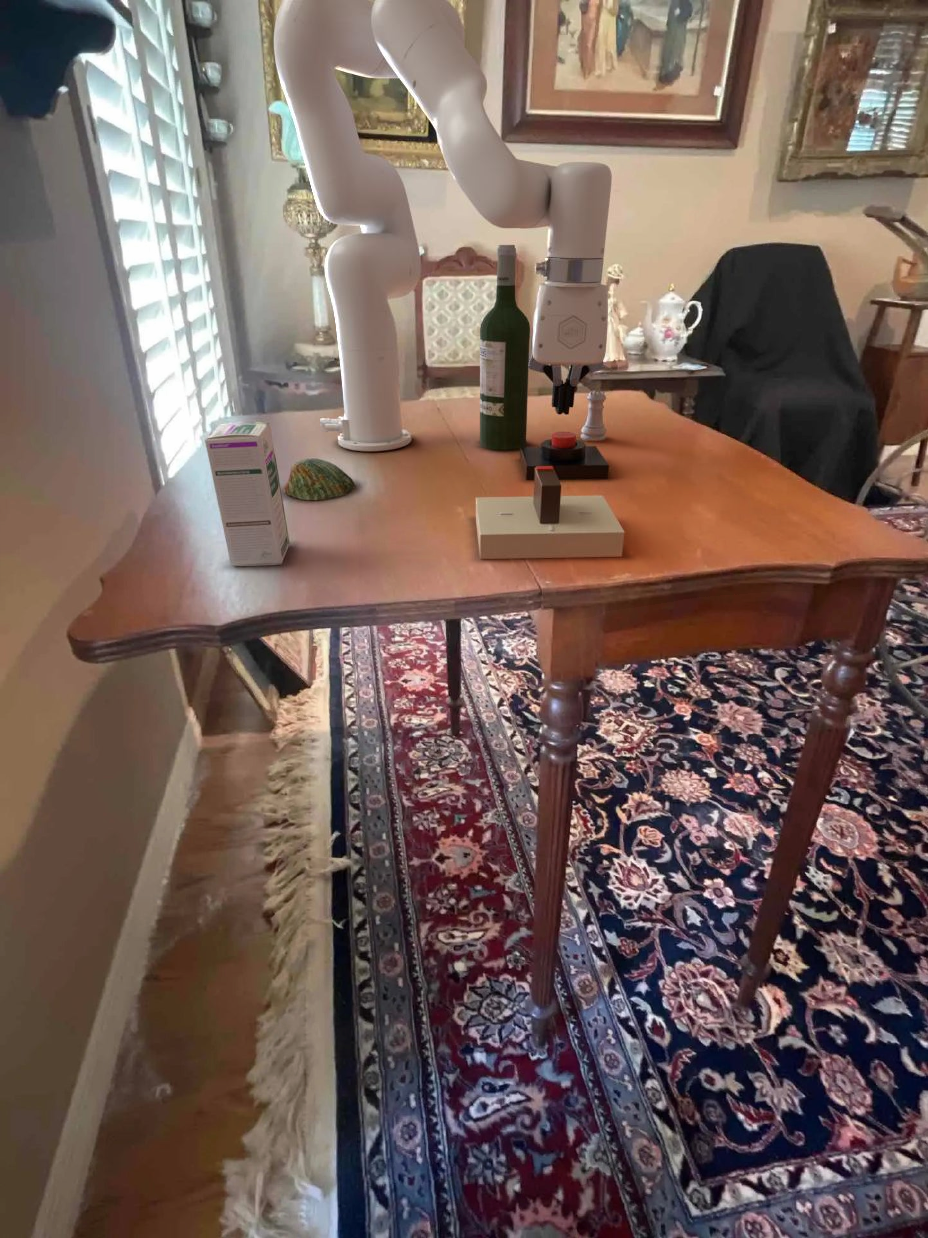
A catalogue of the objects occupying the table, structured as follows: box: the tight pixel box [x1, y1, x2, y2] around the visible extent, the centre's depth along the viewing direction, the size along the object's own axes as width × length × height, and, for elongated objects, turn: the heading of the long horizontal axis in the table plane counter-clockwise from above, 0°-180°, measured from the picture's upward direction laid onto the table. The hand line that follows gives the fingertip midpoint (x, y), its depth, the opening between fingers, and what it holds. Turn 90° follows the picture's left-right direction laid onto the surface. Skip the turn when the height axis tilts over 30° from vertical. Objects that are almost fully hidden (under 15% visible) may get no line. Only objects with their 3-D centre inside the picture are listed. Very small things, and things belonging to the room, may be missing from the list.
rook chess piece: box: [580, 389, 607, 443], centre depth 118 cm, size 4×4×8 cm
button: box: [551, 431, 577, 448], centre depth 103 cm, size 4×4×2 cm
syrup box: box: [204, 421, 290, 567], centre depth 75 cm, size 6×6×14 cm
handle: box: [533, 466, 562, 523], centre depth 80 cm, size 6×2×5 cm, turn 2°
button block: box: [519, 438, 610, 481], centre depth 104 cm, size 12×10×4 cm
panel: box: [475, 494, 625, 560], centre depth 82 cm, size 16×12×3 cm
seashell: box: [283, 458, 356, 501], centre depth 98 cm, size 10×4×10 cm
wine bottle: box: [479, 244, 531, 452], centre depth 110 cm, size 8×8×30 cm
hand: (561, 411), depth 101 cm, fingers closed
